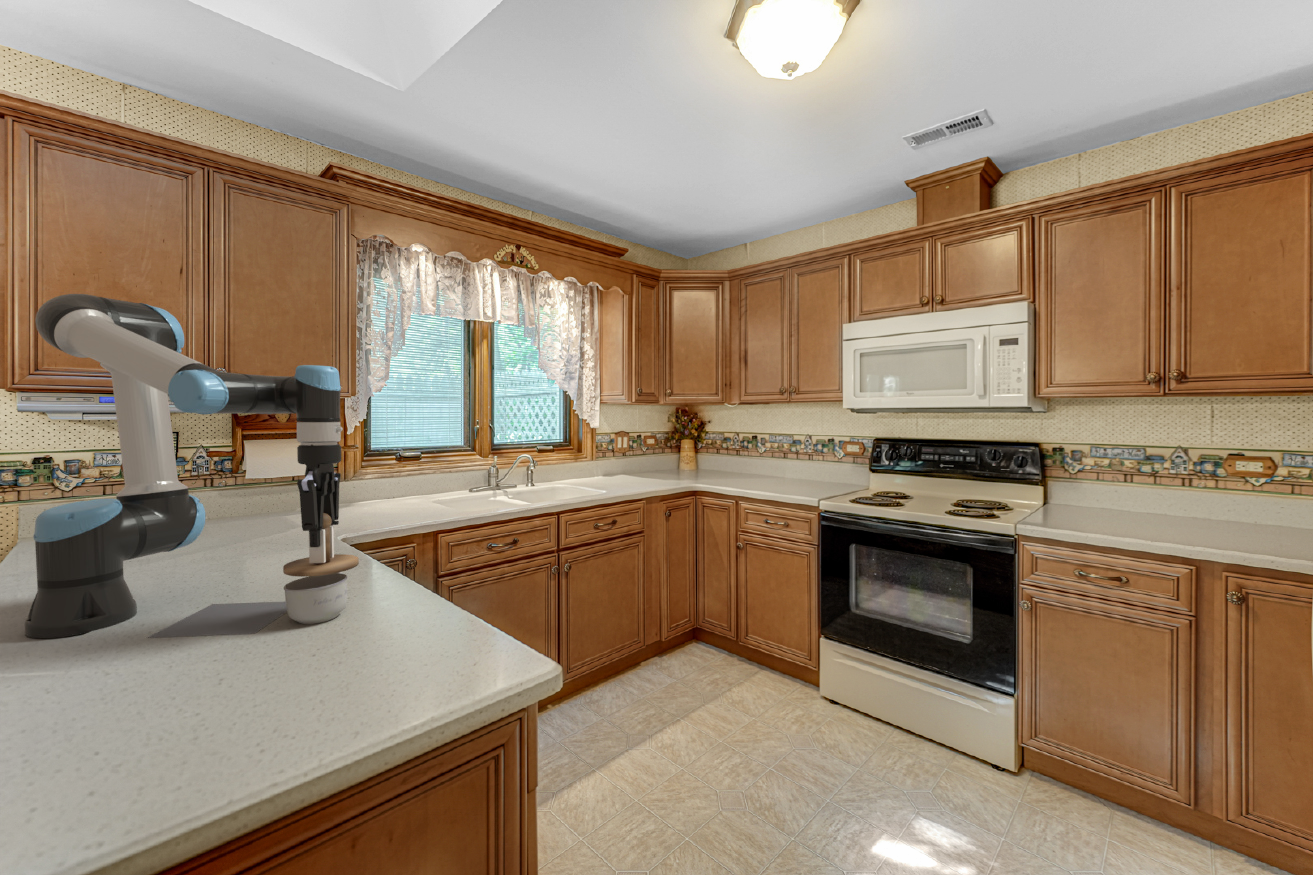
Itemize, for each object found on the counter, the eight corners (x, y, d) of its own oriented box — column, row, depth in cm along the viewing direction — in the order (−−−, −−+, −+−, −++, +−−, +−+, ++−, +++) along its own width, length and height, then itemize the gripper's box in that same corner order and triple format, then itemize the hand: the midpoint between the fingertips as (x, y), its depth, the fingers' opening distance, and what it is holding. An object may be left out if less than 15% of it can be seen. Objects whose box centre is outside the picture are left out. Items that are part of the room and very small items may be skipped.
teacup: (319, 631, 105) (318, 589, 105) (270, 627, 107) (269, 586, 107) (371, 606, 119) (370, 569, 118) (326, 603, 121) (326, 566, 121)
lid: (269, 577, 105) (267, 519, 105) (303, 559, 118) (302, 508, 118) (342, 575, 107) (341, 518, 107) (368, 558, 120) (367, 507, 119)
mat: (146, 640, 101) (146, 637, 101) (212, 605, 119) (212, 603, 119) (254, 635, 103) (254, 633, 103) (303, 602, 121) (303, 600, 121)
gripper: (320, 445, 104) (323, 570, 105) (355, 441, 120) (357, 549, 121) (277, 446, 103) (280, 571, 104) (318, 441, 119) (320, 550, 120)
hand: (321, 559), depth 113 cm, fingers closed on lid, 3 cm apart
